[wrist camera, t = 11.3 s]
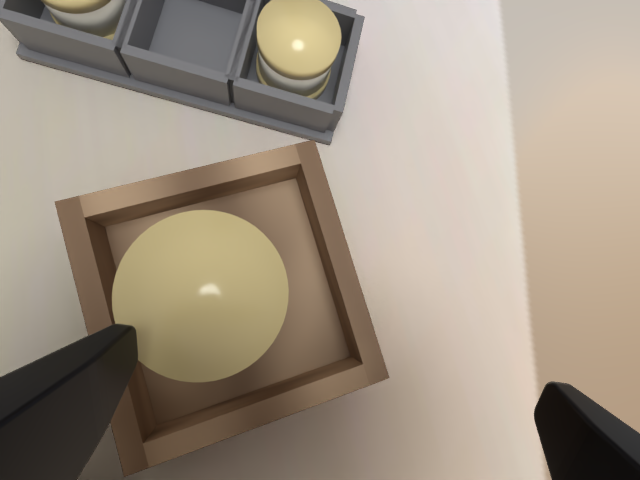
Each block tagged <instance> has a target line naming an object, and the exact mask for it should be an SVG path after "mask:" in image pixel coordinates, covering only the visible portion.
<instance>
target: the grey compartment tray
mask: <svg viewBox="0 0 640 480" xmlns="http://www.w3.org/2000/svg"><path fill="white" fill-rule="evenodd" d="M270 1H271V0H126V3H125V6H124V8H123V11H122V14H121V17H120V20H119V23H118V26H117V29H116V32H115V34H114V37H113V40H110V39H107V38H103V37H100V36H96V35H93V34H89V33H86V32H83V31H79V30H76V29H72V28H69V27H66V26H62V25H59V24H56V23H55V21H54V20H53V18H52V16H51V14H50V11H49V10H48V8H47V7H46V5H45V4H44V3H43V2H42V1H41V0H0V21H1V22H2V24H3V25H4V26H5V27H6V28H7V29H8V30H9V31H10V32H11V33H12V34H13V35H14V37H15V38H16V39H17V40H18V41H19V42H20V44H19V46H18V49H17V52H16V54H17V55H18V56H19V57H20V58H21V59H23V60H27V61H30V62H34V63H38V64H41V65H45V66H48V67H52V68H55V69H59V70H63V71H66V72H70V73H73V74H77V75H81V76H84V77H88V78H91V79H95V80H98V81H102V82H106V83H109V84H113V85H116V86H120V87H123V88H127V89H131V90H134V91H138V92H141V93H145V94H149V95H152V96H156V97H159V98H163V99H166V100H170V101H174V102H177V103H181V104H184V105H188V106H191V107H195V108H199V109H202V110H206V111H209V112H213V113H217V114H220V115H224V116H227V117H231V118H234V119H238V120H242V121H245V122H249V123H252V124H256V125H260V126H263V127H267V128H270V129H274V130H277V131H281V132H285V133H288V134H292V135H295V136H299V137H302V138H306V139H310V140H315V141H317V142H320V143H324V144H328V145H330V143H331V141H332V136H333V132H334V130H335V128H336V126H337V124H338V121H339V119H340V117H341V115H342V113H343V110H344V105H345V101H346V97H347V92H348V88H349V83H350V79H351V75H352V70H353V66H354V61H355V57H356V53H357V48H358V44H359V40H360V35H361V31H362V26H363V22H364V18H365V17H364V16H360V15H357V14H356V11H357V10H355V9H352V8H349V7H346V6H343V5H340V4H337V3H334V2H331V1H328V0H319V1H321V2H323V3H324V4H325V5H326V6H327V7H328V8H329V9H330V10H331V11H332V12H333V13H334V15H335V17H336V18H337V20H338V22H339V26H340V29H341V44H340V48H339V51H338V54H337V57H336V59H335V61H334V63H333V65H332V66H331V72H330V77H329V80H328V83H327V86H326V88H325V90H324V92H323V93H322V94H321V96H320V97H319V98H317V99H316V100H315V99H312V98H308V97H305V96H301V95H298V94H295V93H291V92H288V91H284V90H281V89H277V88H274V87H271V86H267V85H264V84H260V83H259V81H258V78H257V73H256V58H257V53H258V47H257V21H258V17H259V15H260V13H261V11H262V9H263V8H264V7H265V5H266V4H267V3H269V2H270Z"/></svg>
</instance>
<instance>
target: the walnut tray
mask: <svg viewBox="0 0 640 480" xmlns="http://www.w3.org/2000/svg"><path fill="white" fill-rule="evenodd" d="M55 205H56V209H57V213H58V217H59V221H60V225H61V229H62V233H63V237H64V241H65V245H66V249H67V253H68V257H69V261H70V265H71V269H72V272H73V276H74V280H75V284H76V288H77V292H78V296H79V300H80V304H81V308H82V312H83V316H84V320H85V324H86V328H87V332H88V336H89V335H91V334H93V333H95V332H97V331H100V330H102V329H104V328H106V327H108V326H110V325H113V324H115V321H114V315H113V310H112V290H113V283H114V279H115V275H116V272H117V269H118V267H119V264H120V262H121V260H122V258H123V257H124V255H125V253H126V252H127V250H128V249H129V247H130V246H131V245H132V243H133V242H134V241H135V240H136V239H137V238H138V237H139V236H140V235H141V234H142V233H143V232H145V231H146V230H147V229H148V228H149V227H151V226H153V225H154V224H156V223H157V222H159V221H161V220H163V219H165V218H167V217H170V216H172V215H176V214H179V213H182V212H187V211H194V210H214V211H220V212H225V213H228V214H232V215H235V216H237V217H239V218H241V219H244V220H246V221H247V222H249V223H250V224H252V225H254V226H255V227H256V228H258V229H259V230H260V231H261V232H262V233H263V234H264V235H265V236H266V237H267V238H268V239H269V240H270V241H271V243H272V244H273V245H274V247H275V248H276V250H277V251H278V253H279V255H280V257H281V259H282V262H283V264H284V267H285V270H286V274H287V279H288V288H289V296H288V306H287V312H286V316H285V319H284V322H283V325H282V327H281V329H280V331H279V333H278V335H277V337H276V338H275V340H274V342H273V343H272V345H271V346H270V347H269V348H268V350H267V351H266V352H265V353H264V354H263V355H262V356H261V357H260V358H259V359H258V360H257V361H255V362H254V363H253V364H251V365H250V366H249V367H247V368H245V369H244V370H242V371H240V372H239V373H236V374H234V375H232V376H229V377H227V378H223V379H220V380H216V381H209V382H184V381H178V380H174V379H171V378H167V377H165V376H163V375H160V374H158V373H156V372H154V371H153V370H151V369H149V368H148V367H146V366H145V365H144V364H143V363H141V362H140V361H139V360H138V362H137V365H136V368H135V370H134V372H133V374H132V376H131V378H130V381H129V383H128V385H127V387H126V389H125V391H124V393H123V396H122V398H121V400H120V402H119V404H118V406H117V408H116V411H115V413H114V415H113V417H112V419H111V421H110V423H111V427H112V431H113V435H114V439H115V443H116V447H117V451H118V455H119V459H120V463H121V467H122V471H123V475H124V477H126V476H128V475H131V474H134V473H136V472H139V471H142V470H144V469H147V468H150V467H152V466H155V465H158V464H160V463H163V462H166V461H168V460H171V459H174V458H176V457H179V456H182V455H184V454H187V453H190V452H192V451H195V450H198V449H200V448H203V447H206V446H209V445H211V444H214V443H217V442H219V441H222V440H225V439H227V438H230V437H233V436H235V435H238V434H241V433H243V432H246V431H249V430H251V429H254V428H257V427H259V426H262V425H265V424H267V423H270V422H273V421H275V420H278V419H281V418H283V417H286V416H289V415H292V414H294V413H297V412H300V411H302V410H305V409H308V408H310V407H313V406H316V405H318V404H321V403H324V402H326V401H329V400H332V399H334V398H337V397H340V396H342V395H345V394H348V393H350V392H353V391H356V390H358V389H361V388H364V387H366V386H369V385H372V384H375V383H377V382H380V381H383V380H385V379H388V378H389V375H388V372H387V369H386V366H385V363H384V360H383V356H382V353H381V350H380V347H379V344H378V340H377V337H376V334H375V331H374V328H373V325H372V321H371V318H370V315H369V312H368V309H367V305H366V302H365V299H364V296H363V293H362V290H361V286H360V283H359V280H358V277H357V274H356V270H355V267H354V264H353V261H352V258H351V255H350V251H349V248H348V245H347V242H346V239H345V235H344V232H343V229H342V226H341V223H340V220H339V216H338V213H337V210H336V207H335V204H334V200H333V197H332V194H331V191H330V188H329V185H328V181H327V178H326V175H325V172H324V169H323V165H322V162H321V159H320V156H319V153H318V150H317V146H316V143H315V140H311V141H306V142H302V143H298V144H294V145H290V146H286V147H281V148H277V149H273V150H269V151H265V152H260V153H256V154H252V155H248V156H244V157H240V158H235V159H231V160H227V161H223V162H219V163H214V164H210V165H206V166H202V167H198V168H194V169H189V170H185V171H181V172H177V173H173V174H168V175H164V176H160V177H156V178H152V179H148V180H143V181H139V182H135V183H131V184H127V185H122V186H118V187H114V188H110V189H106V190H102V191H97V192H93V193H89V194H85V195H81V196H76V197H72V198H68V199H64V200H60V201H56V202H55Z"/></svg>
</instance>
